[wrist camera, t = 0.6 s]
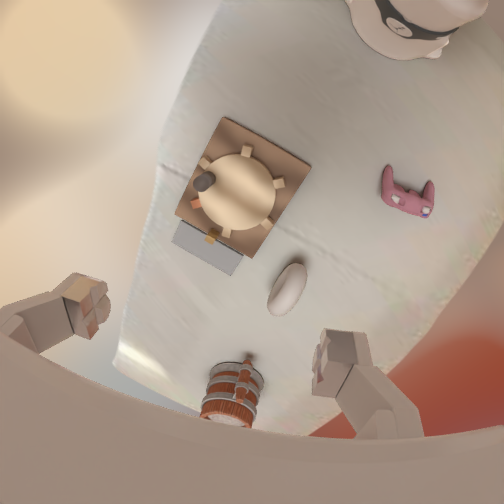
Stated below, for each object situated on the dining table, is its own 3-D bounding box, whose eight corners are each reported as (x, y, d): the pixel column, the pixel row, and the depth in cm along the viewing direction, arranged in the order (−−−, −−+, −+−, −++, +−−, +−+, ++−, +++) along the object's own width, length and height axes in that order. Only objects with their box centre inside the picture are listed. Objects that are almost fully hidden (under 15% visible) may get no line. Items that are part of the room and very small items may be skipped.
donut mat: (182, 219, 53) (181, 220, 52) (243, 254, 54) (242, 256, 54) (172, 240, 55) (171, 241, 55) (231, 274, 56) (230, 275, 56)
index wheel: (218, 127, 43) (208, 129, 38) (303, 176, 45) (304, 184, 40) (179, 206, 50) (166, 217, 45) (255, 250, 52) (250, 266, 47)
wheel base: (224, 117, 44) (217, 117, 40) (310, 166, 45) (312, 171, 41) (177, 211, 52) (167, 219, 48) (253, 254, 54) (249, 266, 50)
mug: (205, 384, 74) (189, 428, 60) (222, 340, 65) (205, 390, 51) (253, 400, 74) (244, 445, 61) (280, 359, 65) (273, 412, 52)
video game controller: (375, 182, 46) (379, 210, 42) (385, 161, 42) (391, 188, 38) (423, 198, 45) (430, 227, 41) (434, 180, 42) (443, 208, 38)
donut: (294, 249, 52) (292, 279, 43) (310, 259, 52) (312, 289, 44) (266, 289, 57) (260, 322, 48) (282, 297, 57) (277, 331, 48)
